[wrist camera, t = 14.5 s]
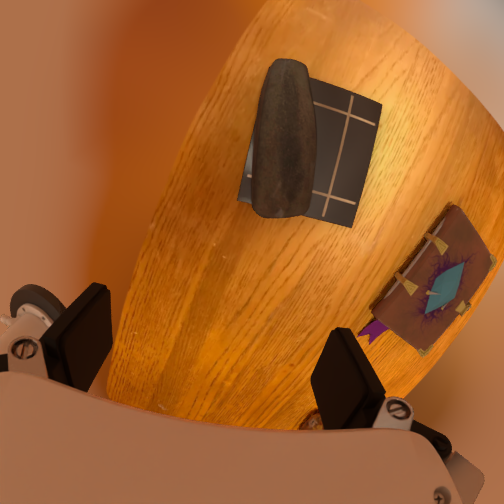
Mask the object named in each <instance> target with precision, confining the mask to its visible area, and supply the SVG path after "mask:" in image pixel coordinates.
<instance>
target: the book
mask: <svg viewBox="0 0 504 504" xmlns="http://www.w3.org/2000/svg"><path fill="white" fill-rule="evenodd" d="M424 237H425V239H426V240H427V242H426V243H425V245H424V246H423V248H422V249H421V250H420V252H419V253H418V254H417V256H416V257H415V258H414V260H413V261H412V262H411V264H410V265H409V266H408V268H407V269H406V270H405V271H404V273H403V274H401V273H399V272H396V273H395V275H394V276H395V278H396V279H397V281H396V283H395V284H394V285H393V286H392V287H391V289H390V290H389V291H388V292H387V294H386V295H385V296H384V298H383V299H382V300H381V301H380V302H379V303H378V304H377V306H376V307H375V308H374V309H373V310H372V311H371V312H372V314H373V315H374V316H375V318H376V319H377V320H375V321H374V322H372V323H371V324H369V325H368V326H367V327H366V328H364V329H363V331H362V332H361V333H360V334H359V335H358V336H357V337H359V336H363V335H367V334H370V341H369V344H371V343H372V342H373V341H374V340H375V338H376V337H378V336H379V335H380V334H381V333H383V332H384V331H386V330H387V329H391V330H392V331H393V332H394V333H396V334H397V335H398V336H400V337H401V338H402V339H404V340H405V341H406V342H408V343H409V344H410V345H412V346H413V347H414V348H415V349H417V351H418V353H419V354H420V356H421V357H425V356H426V355H427V354H428V353H429V352H430V350H431V349H432V348H433V344H434V343H435V342H436V341H437V340H438V338H439V337H440V336H441V335H442V334H443V333H444V332H445V330H446V329H447V328H448V327H449V326H450V324H451V323H452V322H453V321H454V320H455V318H456V317H457V316H458V315H459V314H460V315H461V316H463V315H464V314H465V312H466V311H468V310H469V308H471V304H470V303H469V300H470V299H471V297H472V296H473V295H474V293H475V292H476V291H477V289H478V288H479V286H480V285H481V283H482V282H483V280H484V279H485V277H486V276H487V274H488V273H489V271H491V270H492V269H493V268H494V267H495V265H496V263H497V260H496V258H495V257H494V256H493V255H492V254H491V253H490V252H489V250H488V249H487V247H486V245H485V244H484V242H483V241H482V239H481V237H480V236H479V234H478V233H477V231H476V230H475V228H474V227H473V225H472V224H471V222H470V221H469V219H468V218H467V216H466V215H465V213H464V212H463V211H462V209H461V208H459V207H458V206H456V205H452V206H451V207H450V209H449V210H448V212H447V214H446V215H445V217H444V218H443V220H442V221H441V222H440V224H439V225H438V226H437V228H436V229H435V231H434V232H433V234H430V233H428V232H426V234H425V235H424Z"/></svg>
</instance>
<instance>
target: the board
mask: <svg viewBox="0 0 504 504" xmlns="http://www.w3.org/2000/svg"><path fill="white" fill-rule="evenodd" d="M269 69H270V67H269ZM268 71H269V70H268ZM309 78H310V77H309ZM310 84H311V90H312V96H313V102H314V108H315V114H316V124H317V157H316V166H315V175H314V184H313V190H312V197H311V202H310V207H309V209H308V211H307V212H306V213H305V214H303V215H302V216H306V217H310V218H314V219H318V220H322V221H326V222H330V223H334V224H338V225H341V226H345V227H349V228H352V225H353V222H354V218H355V215H356V212H357V208H358V205H359V201H360V198H361V194H362V191H363V187H364V183H365V179H366V176H367V172H368V168H369V164H370V160H371V156H372V151H373V147H374V143H375V138H376V134H377V129H378V124H379V119H380V114H381V109H382V104H380V103H378V102H376V101H373V100H371V99H368V98H366V97H364V96H361V95H359V94H356V93H354V92H351V91H348V90H346V89H343V88H340V87H337V86H334V85H331V84H329V83H326V82H323V81H319V80H316V79H313V78H310ZM255 125H256V121H255ZM255 125H254V129H253V134H252V138H251V142H250V146H249V150H248V155H247V159H246V163H245V167H244V172H243V176H242V180H241V185H240V189H239V194H238V198H237V201H242V202H246V203H251V181H252V178H251V177H252V159H253V145H254V134H255Z"/></svg>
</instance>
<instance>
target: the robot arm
mask: <svg viewBox="0 0 504 504" xmlns="http://www.w3.org/2000/svg"><path fill="white" fill-rule="evenodd" d="M110 298H111V297H110V290H108V289H107V287H106V285H103V284H99V283H95V282H94V283H92V284H91V285H90V286H89V287H88V288H87V289H86V290H85V291H84V292H83V293H82V294H81V295H80V296H79V297H78V298H77V299H76V300H75V301H74V302H73V303H72V304H71V305H70V306H69V307H68V308H67V309H66V310H65V311H64V312H63V313H62V314H61V315H60V316H59V317H58V318H57V319H56V320H55V322H54V321H53V320H52V319H51V318H50V316H49V315H48V314H47V313H46V312H45V311H43V310H42V309H41V308H39V307H38V306H36V305H33V304H29V303H26V304H23V305H22V306H21V307H20V308H19V309H18V311H17V317H16V318H13V317H12V318H10V317H9V316H7V315H5V314H2V315H1V319H0V320H1V322H2V323H4V324H6V325H8V326H9V327H8V329H7V331H6V332H5V333H4V334H3V335H1V337H0V504H474V502H475V500H476V498H477V496H478V494H479V492H480V490H481V488H482V487H483V484H484V475H483V473H482V472H481V471H480V470H479V469H478V468H477V467H475V466H474V465H473V464H472V463H470V462H469V461H468V460H467V459H465V458H464V457H463V456H462V455H460V454H459V453H458V452H456V451H454V452H453V453H452V452H451V451H452V446H451V443H450V441H449V439H448V438H447V437H446V436H445V435H443V434H441V433H439V432H437V431H435V430H433V429H431V428H429V427H427V426H425V425H423V424H421V423H419V422H417V421H415V420H413V417H414V411H413V408H412V406H411V405H410V404H409V403H408V402H407V401H405V400H404V399H402V398H399V397H388V398H386V397H385V395H384V394H385V393H386V391H385V389H384V387H383V386H382V384H381V382H380V380H379V378H378V376H377V375H376V373H375V371H374V369H373V368H372V366H371V364H370V362H369V361H368V359H367V357H366V355H365V354H364V352H363V350H362V348H361V347H360V345H359V343H358V341H357V340H356V338H355V336H354V335H353V333H352V331H351V330H350V329H349V328H340V327H337V328H336V329H335V330H332V331H331V332H330V335H329V337H328V339H327V342H326V344H325V346H324V349H323V351H322V353H321V355H320V358H319V360H318V362H317V364H316V366H315V369H314V371H313V373H312V375H311V385H312V389H313V392H314V396H315V399H316V403H317V406H318V410H319V413H320V417H321V420H322V424H323V427H324V430H278V429H261V428H248V427H238V426H229V425H221V424H213V423H207V422H200V421H194V420H189V419H183V418H178V417H173V416H169V415H164V414H159V413H155V412H151V411H147V410H143V409H139V408H135V407H132V406H128V405H125V404H121V403H118V402H115V401H111V400H108V399H105V398H102V397H99V396H96V395H92V394H89V393H87V392H88V390H89V388H90V386H91V384H92V382H93V380H94V378H95V377H96V375H97V373H98V371H99V369H100V368H101V366H102V364H103V362H104V360H105V359H106V357H107V355H108V353H109V352H110V350H111V348H112V344H113V338H112V323H111V299H110Z"/></svg>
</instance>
